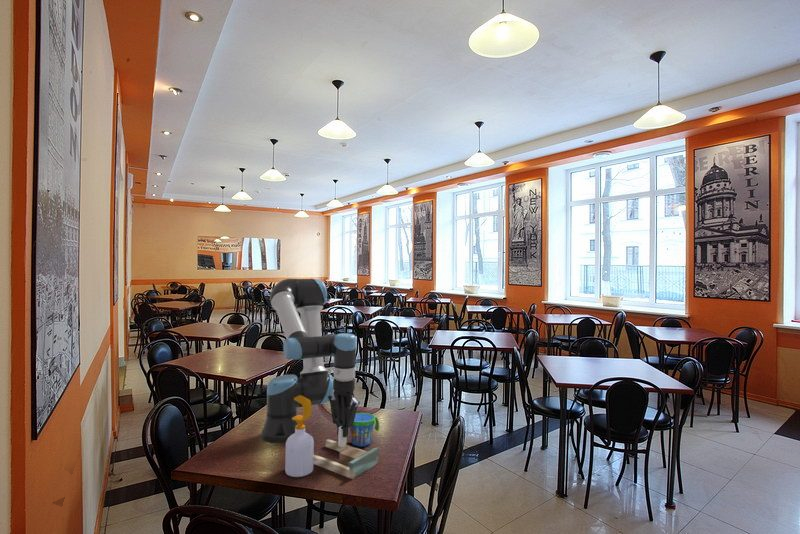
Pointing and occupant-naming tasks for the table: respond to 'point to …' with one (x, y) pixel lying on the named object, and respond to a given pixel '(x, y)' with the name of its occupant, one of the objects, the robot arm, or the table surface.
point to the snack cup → (363, 429)
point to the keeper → (349, 455)
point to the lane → (354, 467)
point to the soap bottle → (300, 444)
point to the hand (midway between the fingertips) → (342, 445)
